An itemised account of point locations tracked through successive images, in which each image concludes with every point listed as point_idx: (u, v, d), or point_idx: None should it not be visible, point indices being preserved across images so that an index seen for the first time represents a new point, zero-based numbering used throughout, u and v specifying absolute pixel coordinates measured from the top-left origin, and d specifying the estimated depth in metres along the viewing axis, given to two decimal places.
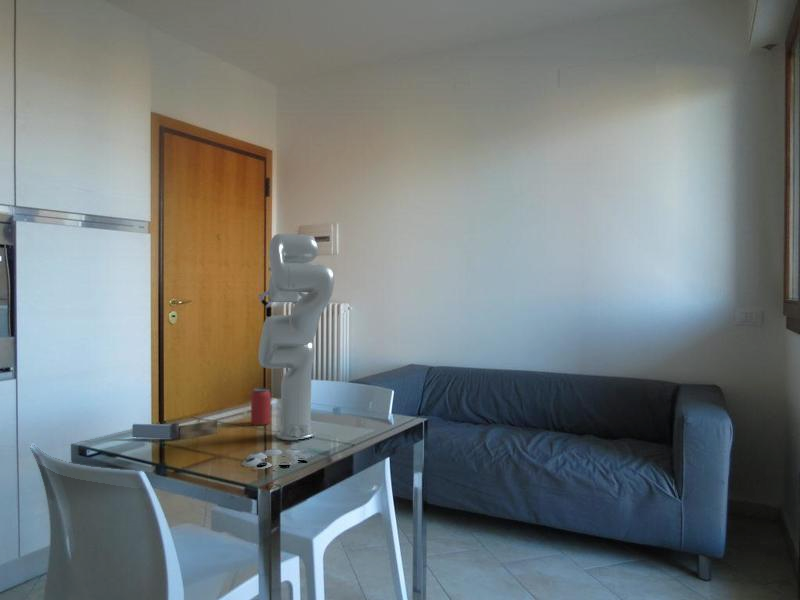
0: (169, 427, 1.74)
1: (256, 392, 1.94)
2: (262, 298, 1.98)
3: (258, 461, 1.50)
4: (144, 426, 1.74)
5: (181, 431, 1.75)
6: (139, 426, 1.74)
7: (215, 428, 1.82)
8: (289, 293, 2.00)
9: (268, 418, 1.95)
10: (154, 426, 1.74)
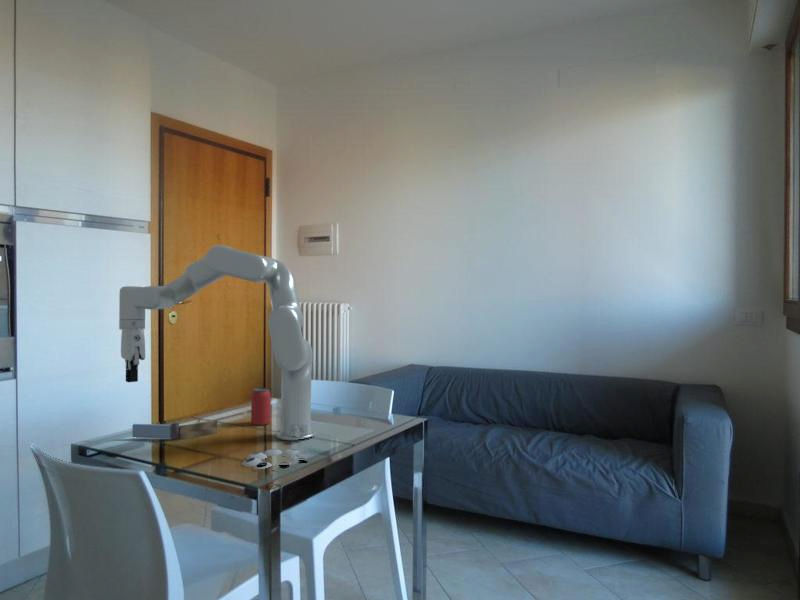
0: (169, 427, 1.74)
1: (256, 392, 1.94)
2: None
3: (258, 461, 1.50)
4: (144, 426, 1.74)
5: (181, 431, 1.75)
6: (139, 426, 1.74)
7: (215, 428, 1.82)
8: None
9: (268, 418, 1.95)
10: (154, 426, 1.74)
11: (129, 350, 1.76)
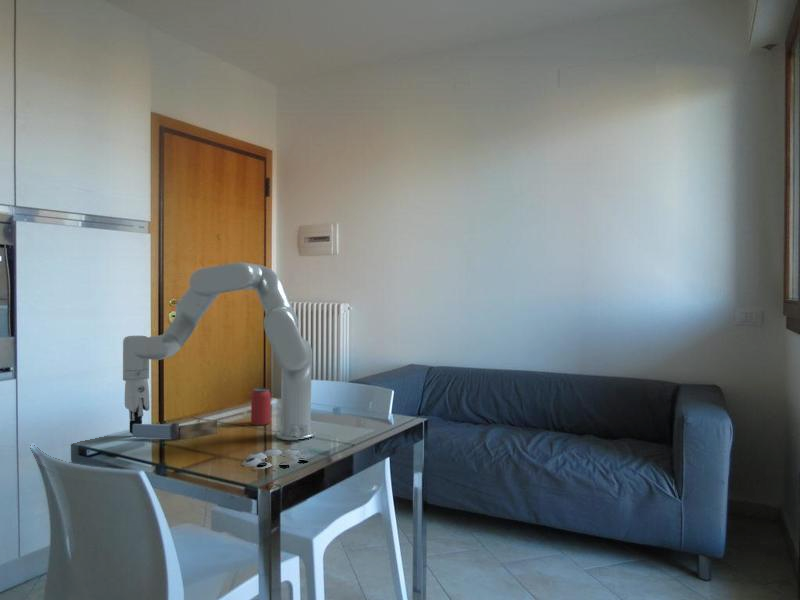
0: (169, 427, 1.74)
1: (256, 392, 1.94)
2: None
3: (258, 461, 1.50)
4: (144, 426, 1.74)
5: (181, 431, 1.75)
6: (139, 426, 1.74)
7: (215, 428, 1.82)
8: None
9: (268, 418, 1.95)
10: (154, 426, 1.74)
11: (133, 402, 1.73)
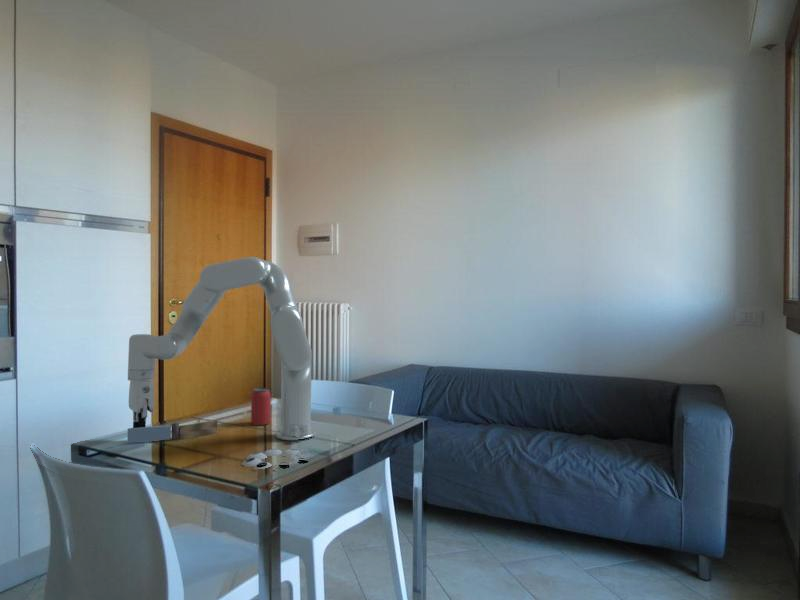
0: (169, 428, 1.73)
1: (256, 392, 1.94)
2: None
3: (258, 461, 1.50)
4: (141, 429, 1.70)
5: (181, 431, 1.75)
6: (135, 430, 1.69)
7: (215, 428, 1.82)
8: None
9: (268, 418, 1.95)
10: (153, 428, 1.71)
11: (137, 402, 1.68)
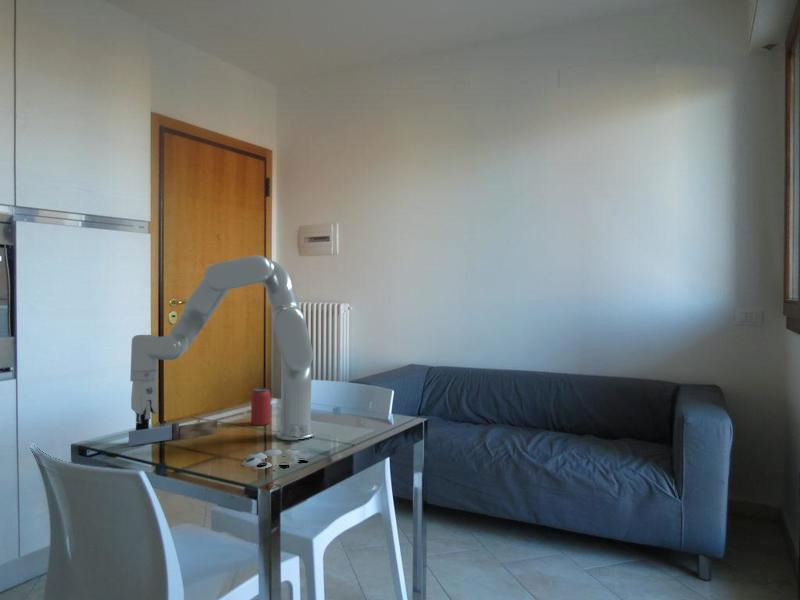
0: (170, 428, 1.73)
1: (256, 392, 1.94)
2: None
3: (258, 461, 1.50)
4: (143, 431, 1.67)
5: (181, 431, 1.75)
6: (137, 432, 1.66)
7: (215, 428, 1.82)
8: None
9: (268, 418, 1.95)
10: (154, 429, 1.69)
11: (140, 404, 1.66)
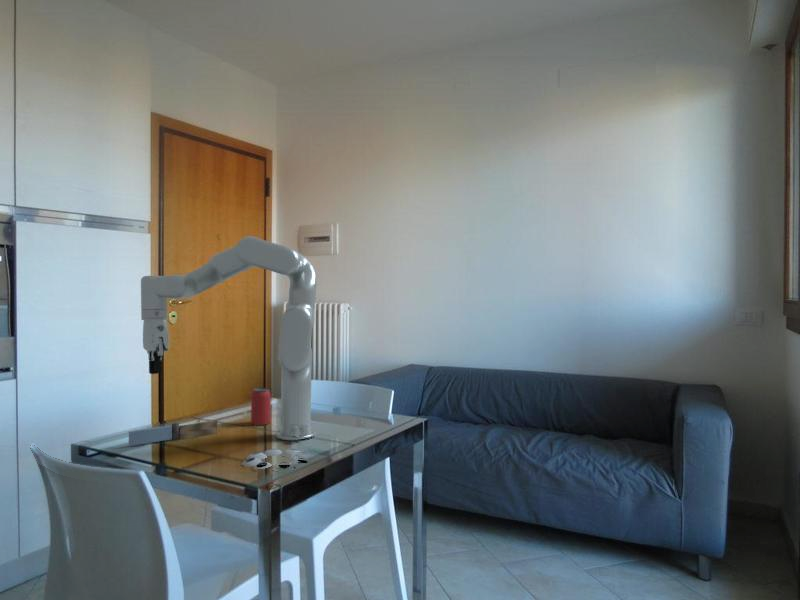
0: (170, 428, 1.73)
1: (256, 392, 1.94)
2: None
3: (258, 461, 1.50)
4: (143, 431, 1.67)
5: (181, 431, 1.75)
6: (138, 432, 1.66)
7: (215, 428, 1.82)
8: None
9: (268, 418, 1.95)
10: (154, 429, 1.69)
11: (153, 341, 1.72)
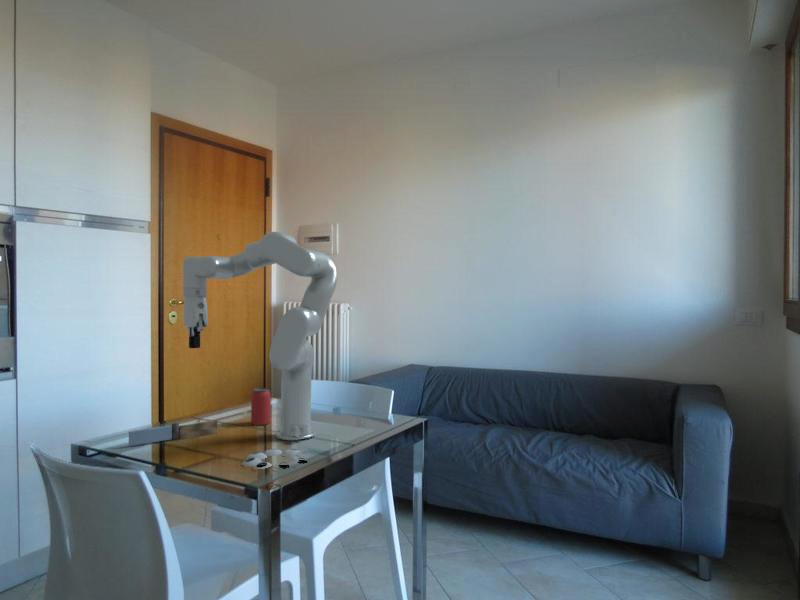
0: (170, 428, 1.73)
1: (256, 392, 1.94)
2: None
3: (258, 461, 1.50)
4: (143, 431, 1.67)
5: (181, 431, 1.75)
6: (138, 432, 1.66)
7: (215, 428, 1.82)
8: None
9: (268, 418, 1.95)
10: (154, 429, 1.69)
11: (193, 317, 1.84)
